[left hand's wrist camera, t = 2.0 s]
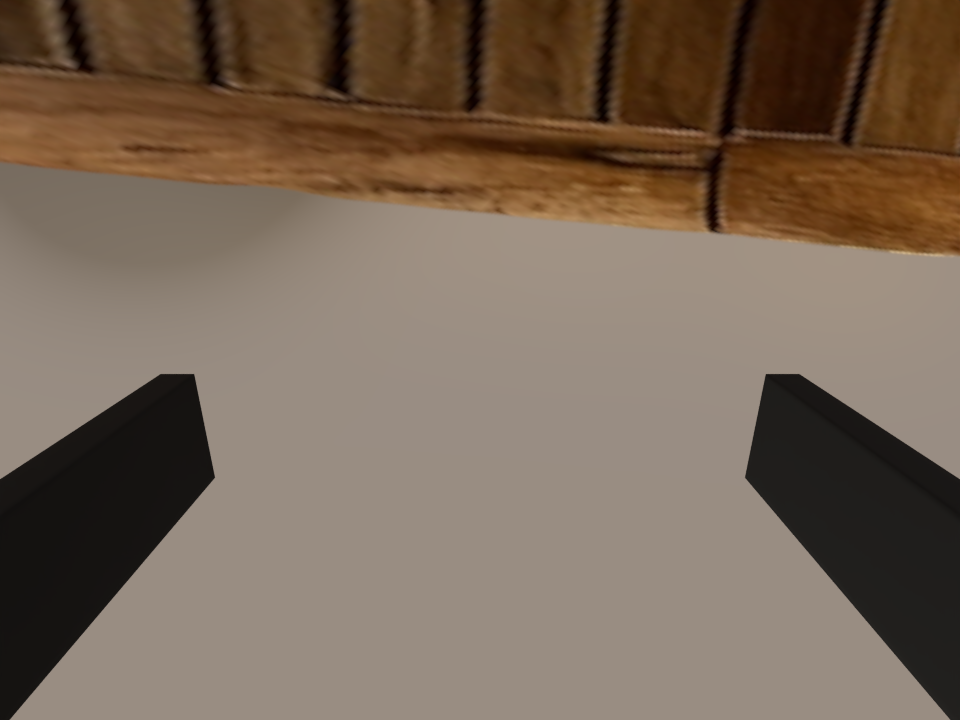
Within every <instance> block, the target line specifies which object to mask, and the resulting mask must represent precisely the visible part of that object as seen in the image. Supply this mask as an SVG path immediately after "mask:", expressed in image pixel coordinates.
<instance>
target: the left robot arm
mask: <svg viewBox="0 0 960 720" xmlns="http://www.w3.org/2000/svg"><path fill="white" fill-rule="evenodd" d="M214 478H215V475H214V471H213V466H212V461H211V456H210V451H209V446H208V441H207V436H206V431H205V426H204V421H203V416H202V411H201V406H200V401H199V396H198V391H197V386H196V381H195V376H194V374H160V375H159V376H157V377H156V378H154V379H153V380H151V381H150V382H148V383H147V384H145V385H143V386H142V387H140V388H139V389H137V390H136V391H134V392H133V393H131V394H130V395H128V396H127V397H125V398H124V399H122V400H121V401H119V402H118V403H116V404H114V405H113V406H111V407H110V408H108V409H107V410H105V411H104V412H102V413H101V414H99V415H98V416H96V417H95V418H93V419H92V420H90V421H88V422H87V423H85V424H84V425H82V426H81V427H79V428H78V429H76V430H75V431H73V432H72V433H70V434H69V435H67V436H66V437H64V438H63V439H61V440H59V441H58V442H56V443H55V444H53V445H52V446H50V447H49V448H47V449H46V450H44V451H43V452H41V453H40V454H38V455H37V456H35V457H34V458H32V459H30V460H29V461H27V462H26V463H24V464H23V465H21V466H20V467H18V468H17V469H15V470H14V471H12V472H11V473H9V474H8V475H6V476H5V477H3V478H1V479H0V720H10V719H11V717H12V716H13V715H14V714H15V713H16V712H17V710H18V709H19V708H20V707H21V706H22V705H23V703H24V702H25V701H26V700H27V699H28V697H29V696H30V695H31V694H32V693H33V691H34V690H35V689H36V688H37V687H38V686H39V684H40V683H41V682H42V681H43V680H44V678H45V677H46V676H47V675H48V674H49V673H50V671H51V670H52V669H53V668H54V667H55V666H56V664H57V663H58V662H59V661H60V660H61V659H62V657H63V656H64V655H65V654H66V653H67V651H68V650H69V649H70V648H71V647H72V646H73V644H74V643H75V642H76V641H77V640H78V638H79V637H80V636H81V635H82V634H83V633H84V631H85V630H86V629H87V628H88V627H89V625H90V624H91V623H92V622H93V621H94V620H95V618H96V617H97V616H98V615H99V614H100V613H101V611H102V610H103V609H104V608H105V607H106V605H107V604H108V603H109V602H110V601H111V600H112V598H113V597H114V596H115V595H116V594H117V592H118V591H119V590H120V589H121V588H122V587H123V585H124V584H125V583H126V582H127V581H128V580H129V578H130V577H131V576H132V575H133V574H134V572H135V571H136V570H137V569H138V568H139V567H140V565H141V564H142V563H143V562H144V561H145V559H146V558H147V557H148V556H149V555H150V554H151V552H152V551H153V550H154V549H155V548H156V547H157V545H158V544H159V543H160V542H161V541H162V539H163V538H164V537H165V536H166V535H167V533H168V532H169V531H170V530H171V529H172V528H173V526H174V525H175V524H176V523H177V522H178V520H179V519H180V518H181V517H182V516H183V515H184V513H185V512H186V511H187V510H188V509H189V508H190V506H191V505H192V504H193V503H194V502H195V500H196V499H197V498H198V497H199V496H200V495H201V493H202V492H203V491H204V490H205V489H206V488H207V486H208V485H209V484H210V483H211V482H212V480H213V479H214ZM745 478H746V479H747V480H748V482H749V483H750V484H751V485H752V486H753V488H754V489H755V490H756V491H757V492H758V493H759V495H760V496H761V497H762V498H763V499H764V501H765V502H766V503H767V504H768V505H769V506H770V508H771V509H772V510H773V511H774V512H775V513H776V515H777V516H778V517H779V518H780V519H781V521H782V522H783V523H784V524H785V525H786V526H787V528H788V529H789V530H790V531H791V532H792V534H793V535H794V536H795V537H796V538H797V539H798V541H799V542H800V543H801V544H802V545H803V546H804V548H805V549H806V550H807V551H808V552H809V554H810V555H811V556H812V557H813V558H814V559H815V561H816V562H817V563H818V564H819V565H820V567H821V568H822V569H823V570H824V571H825V572H826V574H827V575H828V576H829V577H830V578H831V579H832V581H833V582H834V583H835V584H836V585H837V587H838V588H839V589H840V590H841V591H842V592H843V594H844V595H845V596H846V597H847V598H848V600H849V601H850V602H851V603H852V604H853V605H854V607H855V608H856V609H857V610H858V611H859V613H860V614H861V615H862V616H863V617H864V618H865V620H866V621H867V622H868V623H869V624H870V626H871V627H872V628H873V629H874V630H875V631H876V632H877V634H878V635H879V636H880V637H881V638H882V640H883V641H884V642H885V643H886V644H887V646H888V647H889V648H890V649H891V650H892V651H893V653H894V654H895V655H896V656H897V657H898V659H899V660H900V661H901V662H902V663H903V664H904V666H905V667H906V668H907V669H908V670H909V671H910V673H911V674H912V675H913V676H914V677H915V679H916V680H917V681H918V682H919V683H920V684H921V686H922V687H923V688H924V689H925V690H926V692H927V693H928V694H929V695H930V696H931V697H932V699H933V700H934V701H935V702H936V703H937V705H938V706H939V707H940V708H941V709H942V710H943V712H944V713H945V714H946V715H947V716H948V717H949V719H950V720H960V479H959V478H957V477H955V476H954V475H952V474H951V473H949V472H948V471H946V470H945V469H943V468H942V467H940V466H939V465H937V464H936V463H934V462H933V461H931V460H930V459H928V458H927V457H925V456H923V455H922V454H920V453H919V452H917V451H916V450H914V449H913V448H911V447H910V446H908V445H907V444H905V443H904V442H902V441H901V440H899V439H897V438H896V437H894V436H893V435H891V434H890V433H888V432H887V431H885V430H884V429H882V428H881V427H879V426H878V425H876V424H875V423H873V422H872V421H870V420H868V419H867V418H865V417H864V416H862V415H861V414H859V413H858V412H856V411H855V410H853V409H852V408H850V407H849V406H847V405H846V404H844V403H842V402H841V401H839V400H838V399H836V398H835V397H833V396H832V395H830V394H829V393H827V392H826V391H824V390H823V389H821V388H820V387H818V386H817V385H815V384H814V383H812V382H810V381H809V380H807V379H806V378H804V377H803V376H801V375H800V374H766V376H765V381H764V386H763V391H762V396H761V401H760V406H759V411H758V416H757V421H756V426H755V431H754V436H753V441H752V446H751V451H750V456H749V461H748V466H747V471H746V475H745Z"/></svg>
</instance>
